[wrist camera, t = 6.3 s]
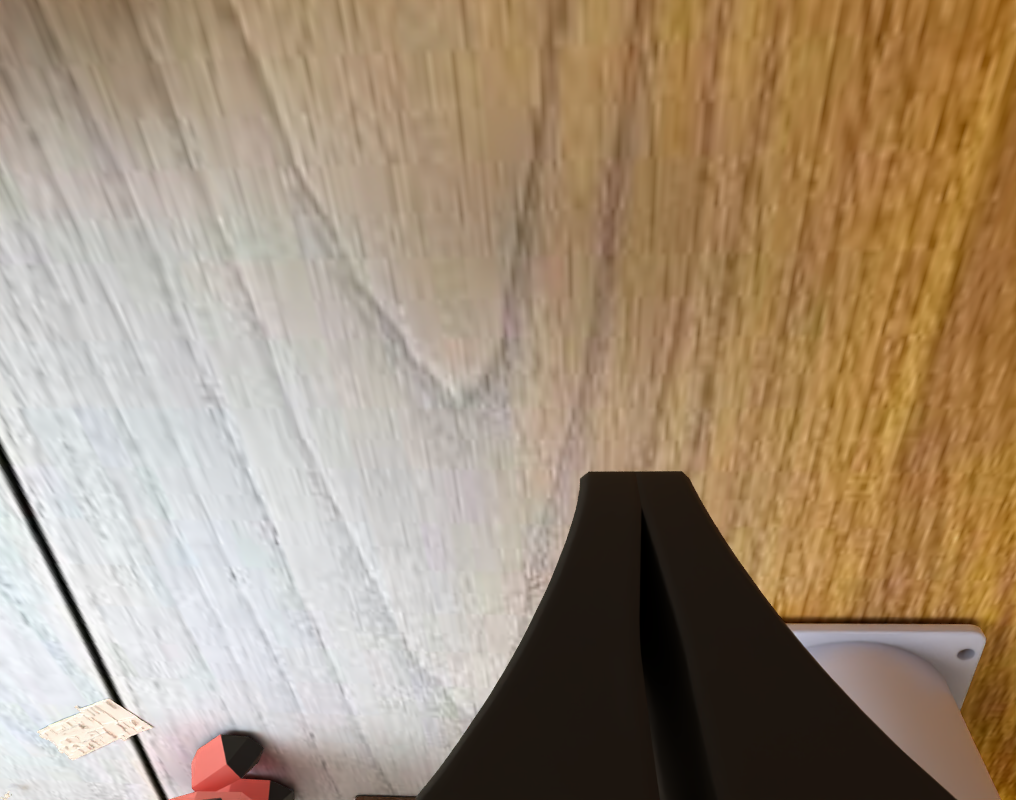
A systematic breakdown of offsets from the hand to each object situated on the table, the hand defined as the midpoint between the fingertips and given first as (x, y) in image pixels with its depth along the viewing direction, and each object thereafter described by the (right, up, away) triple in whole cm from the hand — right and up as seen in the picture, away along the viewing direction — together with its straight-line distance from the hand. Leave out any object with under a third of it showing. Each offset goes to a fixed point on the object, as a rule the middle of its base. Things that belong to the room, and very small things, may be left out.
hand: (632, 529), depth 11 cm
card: (-20, -12, +22) cm, 32 cm away
